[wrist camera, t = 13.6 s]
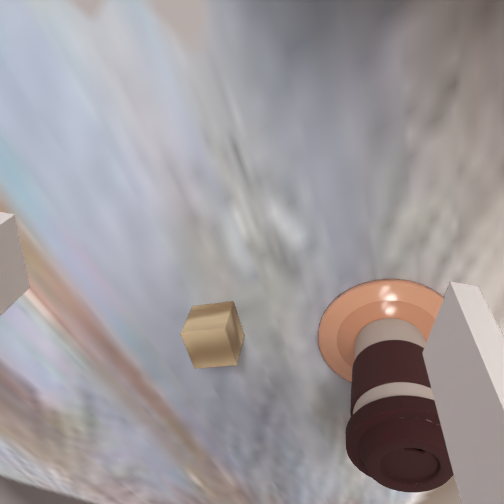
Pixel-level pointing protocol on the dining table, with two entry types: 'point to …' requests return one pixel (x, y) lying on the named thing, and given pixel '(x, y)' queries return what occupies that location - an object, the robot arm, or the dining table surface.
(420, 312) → the saucer
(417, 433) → the coffee cup
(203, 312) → the tan cube
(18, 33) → the dining table surface
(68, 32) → the dining table surface
